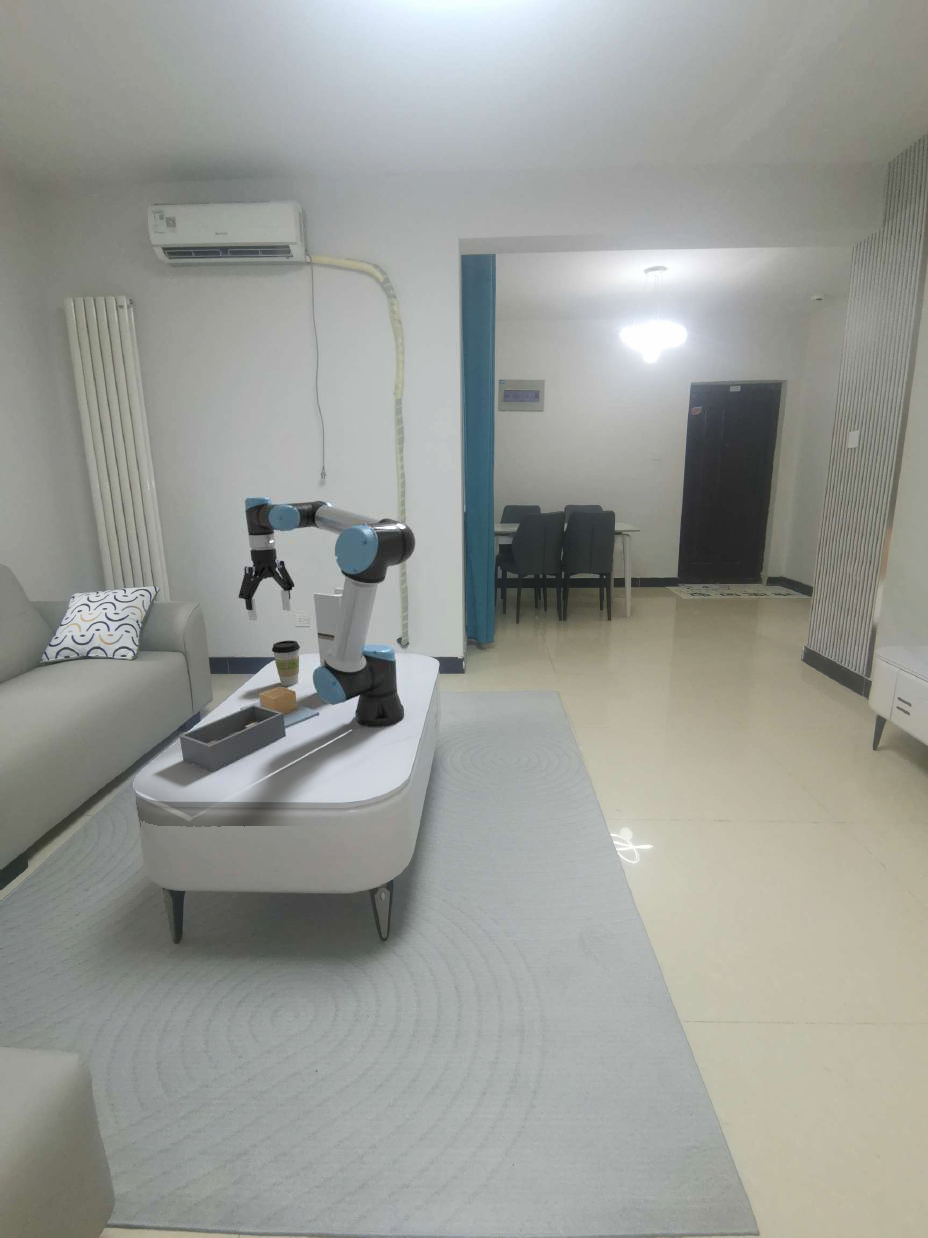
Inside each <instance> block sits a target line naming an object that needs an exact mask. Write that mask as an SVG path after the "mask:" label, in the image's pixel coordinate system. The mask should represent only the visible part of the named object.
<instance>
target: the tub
mask: <svg viewBox="0 0 928 1238" xmlns="http://www.w3.org/2000/svg"><path fill="white" fill-rule="evenodd" d="M256 721H257V722H260V723H257V724H255V725H253V726H251V727H249V728H246V729H245V726H247V725H249V724H252V723H254V722H256ZM233 732H237V733H235V734H233V735H231V736H229V737H228V735H229V734H230V733H233ZM178 737H179V744H180V748H181V754H182V755H181V756H182V758H183V759H182V760H183V761H184V762H186V763H189V764H191V765H194V766H196V767H199V768H201V769H204V770H205V771H206V770H207V771H209V772H211V773H215V772H217V771H219V770H221V769H223V768H225V767H227V766H229V765H231V764H233V763H235V762H237V761H239V760H241V759H243V758H246V757H247V756H249V755H251V754H253V753H255V752H257V751H259V750H261V749H264V748H266V747H267V746H269V745H271V744H274V743H275V742H278V741H279V740H282V739H283V738H285V737H287V734H286V728H285V724H284V715H283V713H281V712H277V711H274V710H270V709H267V708H263V707H260V706H256V705H252V706H249V707H247V708H245V709H242V710H241V709H240V710H237V711H236V712H233V713H231V714H228V715H226V716H224V717H221V718H218V719H216V720H214V721H212V722H209V723H207V724H204V725H201V726H199V727H197V728H195V729H192V730H190V731H188V732H185V733H183V734H180V735H179V736H178ZM214 740H216V741H218V742H215V743H213V744H211V745H210V744H207V743H209V742H212V741H214Z"/></svg>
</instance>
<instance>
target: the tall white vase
mask: <svg viewBox="0 0 928 1238" xmlns="http://www.w3.org/2000/svg"><path fill="white" fill-rule="evenodd" d="M343 588H344V587H343ZM343 588H342V587H334V589H333V590H334V594H328V593H327V594H326V593H319V592H314V593H313V600H314V610H315V622H316V629H317V630H316V632H317V641H318V642H317V643H318V652H319V654H318V655H319V662H320V665H319V666H323V665H324V660H325V655H326V653H327V652H328V651H329V650H331V649H332V647H333V642H334V636H335V631H336V626H337V620H338V615H339V610H340V604H341V599H342V594H343Z"/></svg>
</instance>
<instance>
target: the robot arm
mask: <svg viewBox="0 0 928 1238" xmlns="http://www.w3.org/2000/svg"><path fill="white" fill-rule="evenodd" d="M244 504H245V505H244V506H245V507H244V508H245V509H244V512H245V519H246V526H247V532H248V542H249V543H248V544H249V548H250V551H249V552H250V560H251V561H252V564H253V565H252V566H244V569H243V571H244V572H243V573H244V574H243V579H242V582H241V585H240V590H239V593H238V598H239V599H243V600H244V603H245V609H246V610H247V615H248V619H249V620H251V621H258V616H257V607H256V601H255V599H254V595H255V594H256V591H257V590H258V588H259V585H260V584H261V582H263V580H266V579H268V578H272V579H273V580H274V581H275V582H276V583H277V585H279V587H280V588H281V589H282V590H280V596H281V604H282V605H281V606H282V611H287V612H289V611H291V602H290V600H291V591H293V588H295V583H294V581H293V579H292V577H291V576H290V573H289V572H288V570H287V568H286V564H285V561H284V560H279V559H277V550H276V548H275V546H276V537H275V531H280V532H290V531H293V530H296V529H303V528H311V527H313V528H317V529H320V530H323V531H327V532H330V533H332V534H336V535H338V536H337V539H336V542H335V544H334V556H335V557H336V559H335V560H336V563H337V565H338V568H339V569H340V572H341V574H342V576H343V577H345V578H344V583H343V594H342V599H341V604H340V610H339V615H338V620H337V626H336V631H335V636H334V642H333V647H332V649H331V650H329V651H328V652H327V653H326V655H325V660H324V665H323V666H321V665H319V666H317V667H316V668H315V669H314V670H313V673H312V682H313V686H314V689H315V691H316V693H317V695H318V696H319V697H320V698H321V700H322V701H324V702H325V703H327V704H329V705H332V706H335V705H338V704H342V703H346V701H349V700H352V699H355V698H357V697H358V700H357V705H356V709H355V712H354V715H355V722H356V723H357V724H359V725H361V726H363V727H367V728H380V727H388V726H391V725H395V724H397V723H399V722H400V721H402V720H403V719H404V718H405V708H404V706H403V704H402V702H401V699H400V696H399V693H398V685H397V684H398V682H397V679H398V678H397V665H396V664H397V660H396V656H395V650H394V649H393V648H392V647H390V646H388V645H382V644H366V640H367V636H368V630H369V626H370V622H371V616H372V613H373V609H374V604H375V599H376V594H377V589H378V585H379V584H381V583H383V582H384V581H385V579H386V575H387V571H388V567H392V566H396V565H397V566H398V565H401V564H403V563H405V562H406V561H408V559H410V558H411V557H412V555H413V553H414V552H415V547H416V537H415V534H414V532H413V530H412V528H411V527H410V526H409V525H408V524H406V523H405V522H402V521H399V520H396V519H392V518H387V517H385V518H381V519H378V518H374V517H370V516H367V515H364V514H360V513H356V512H354V511H353V512H352V511H349V510H345V509H341V508H337V507H334V506H333V505H332V504H331V503H330V502H329V501H325V500H315V501H307V502H305V501H304V502H293V503H291V502H290V503H281V504H279V503H278V504H275V503H274V504H272V501H271V498H270V497H269V496H254V497H247V498H245V500H244Z"/></svg>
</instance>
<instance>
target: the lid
mask: <svg viewBox="0 0 928 1238" xmlns="http://www.w3.org/2000/svg"><path fill="white" fill-rule="evenodd" d="M258 698H259V701H255V702H254V703H251V704H249V705H245V706H242V707H240V710H242V709H245V708H247V707H249V706H252V705H256V706H260V707H263V708H267V709H270V710H274V711H277V712H281V713H283V715H284V724H285V729H287V728H290V727H293V726H295V725H297V724H300V723H302V722H304V721H307V720H309V719H312V718H314V717H319V716H320V711H318V710H317V711H316V710H314V709H312V708H309V707H306V706H304V705H301V704H298V703H297V694H296V691H294V690H293V689H290V688H287V687H284V686H278V687H275V688H272V689H270V690H269V689H268V690H265V691H263V692H260V693H258Z"/></svg>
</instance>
